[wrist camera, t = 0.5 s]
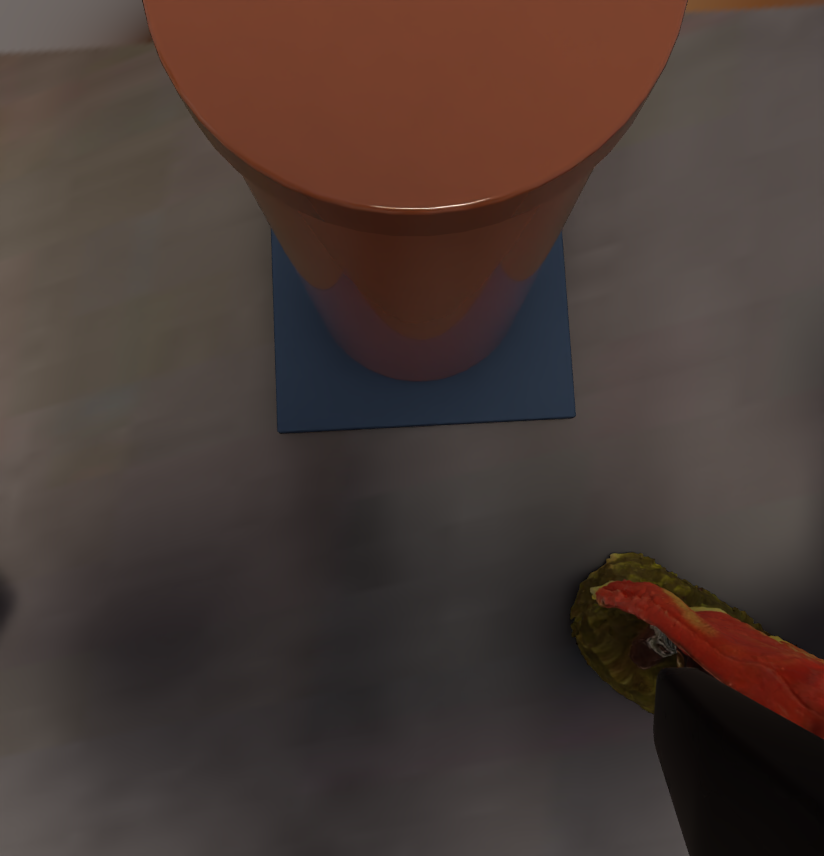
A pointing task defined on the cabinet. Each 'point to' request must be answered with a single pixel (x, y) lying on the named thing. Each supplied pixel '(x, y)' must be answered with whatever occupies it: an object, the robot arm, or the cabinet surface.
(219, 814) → the cabinet surface
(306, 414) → the blue mat
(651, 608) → the figurine
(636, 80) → the terracotta cylinder canister
